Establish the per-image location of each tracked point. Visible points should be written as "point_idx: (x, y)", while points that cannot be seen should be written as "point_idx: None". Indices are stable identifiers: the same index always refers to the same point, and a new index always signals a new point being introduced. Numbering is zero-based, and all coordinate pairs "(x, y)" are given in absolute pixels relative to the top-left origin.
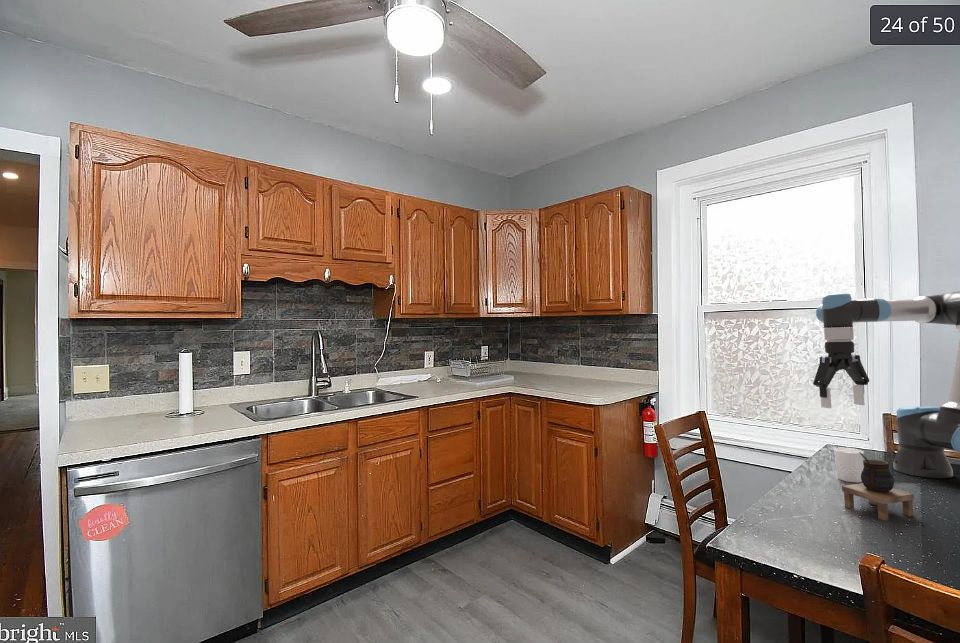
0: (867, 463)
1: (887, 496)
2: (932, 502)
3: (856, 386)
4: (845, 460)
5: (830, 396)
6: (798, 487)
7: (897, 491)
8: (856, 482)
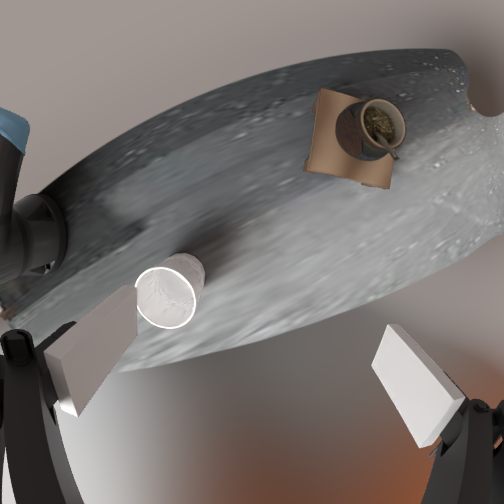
0: (405, 133)
1: None
2: (200, 120)
3: (78, 387)
4: (197, 285)
5: (423, 361)
6: (330, 293)
7: (332, 110)
8: (194, 256)
